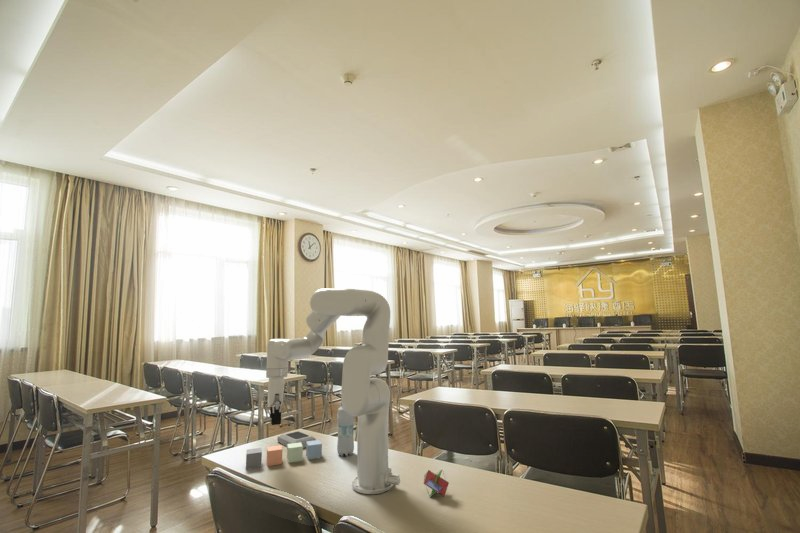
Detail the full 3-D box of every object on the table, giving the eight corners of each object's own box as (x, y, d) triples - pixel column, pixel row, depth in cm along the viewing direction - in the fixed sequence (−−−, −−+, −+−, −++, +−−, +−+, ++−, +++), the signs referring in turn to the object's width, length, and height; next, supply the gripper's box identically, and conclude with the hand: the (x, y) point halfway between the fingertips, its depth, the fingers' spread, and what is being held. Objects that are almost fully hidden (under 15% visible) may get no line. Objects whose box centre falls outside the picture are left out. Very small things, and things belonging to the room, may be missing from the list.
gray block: (260, 462, 134) (261, 447, 134) (261, 467, 129) (261, 452, 130) (246, 464, 132) (246, 449, 132) (245, 469, 127) (246, 454, 128)
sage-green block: (300, 456, 139) (301, 442, 140) (302, 460, 134) (302, 446, 135) (286, 458, 137) (287, 444, 138) (288, 463, 132) (288, 448, 133)
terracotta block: (281, 459, 136) (281, 444, 137) (282, 464, 132) (282, 449, 132) (266, 461, 134) (267, 446, 135) (267, 466, 130) (267, 451, 130)
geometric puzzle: (457, 485, 107) (441, 459, 110) (449, 495, 101) (432, 467, 104) (439, 497, 109) (423, 471, 112) (430, 508, 103) (414, 480, 106)
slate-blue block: (319, 453, 141) (319, 439, 142) (321, 458, 137) (321, 443, 137) (306, 455, 140) (306, 441, 140) (307, 460, 135) (308, 445, 136)
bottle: (335, 452, 142) (335, 398, 145) (352, 450, 144) (352, 396, 147) (337, 458, 136) (338, 401, 138) (356, 456, 138) (356, 400, 140)
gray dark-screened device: (298, 429, 163) (316, 436, 152) (298, 437, 162) (316, 445, 151) (277, 433, 156) (295, 441, 145) (277, 443, 155) (294, 451, 145)
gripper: (265, 370, 144) (263, 416, 142) (267, 376, 128) (265, 428, 126) (285, 369, 147) (284, 414, 144) (289, 375, 131) (288, 426, 129)
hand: (275, 420), depth 135 cm, fingers open, 9 cm apart
